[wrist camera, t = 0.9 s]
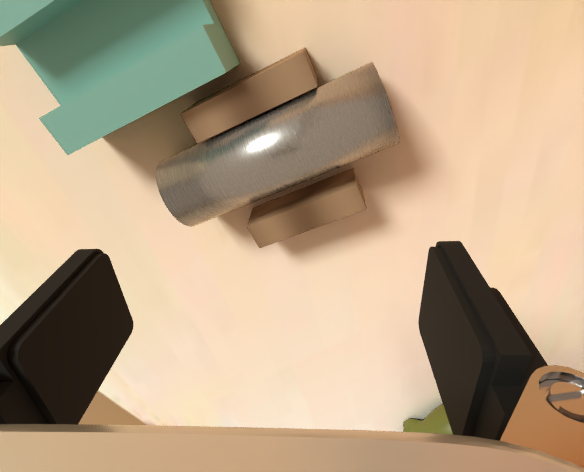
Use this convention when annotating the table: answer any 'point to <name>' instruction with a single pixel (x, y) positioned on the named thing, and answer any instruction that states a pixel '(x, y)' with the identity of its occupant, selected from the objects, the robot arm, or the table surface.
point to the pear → (430, 423)
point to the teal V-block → (114, 57)
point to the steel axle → (280, 148)
